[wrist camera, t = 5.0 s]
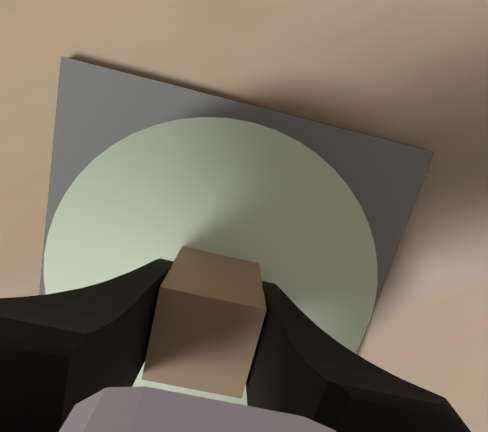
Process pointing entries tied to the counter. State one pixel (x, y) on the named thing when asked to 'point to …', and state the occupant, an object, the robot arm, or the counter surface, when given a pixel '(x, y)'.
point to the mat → (205, 105)
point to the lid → (217, 244)
